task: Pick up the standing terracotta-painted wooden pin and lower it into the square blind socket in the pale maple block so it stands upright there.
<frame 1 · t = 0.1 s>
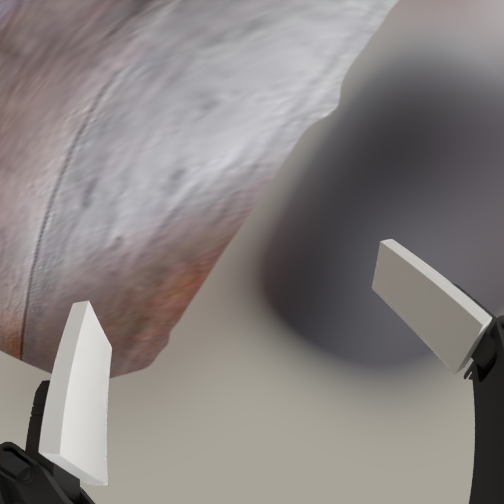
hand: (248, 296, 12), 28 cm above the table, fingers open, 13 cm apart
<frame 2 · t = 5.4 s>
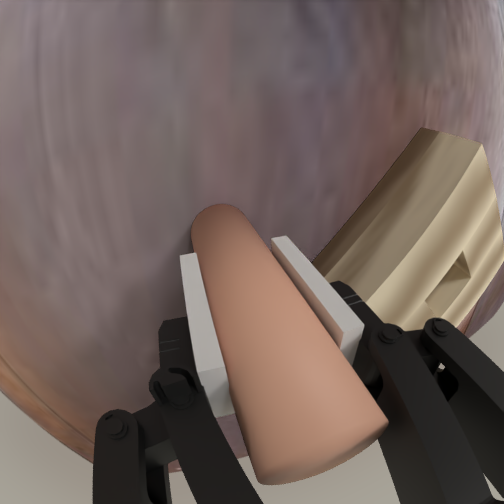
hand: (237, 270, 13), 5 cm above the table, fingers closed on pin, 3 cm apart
pin: (220, 232, 17), on the table, touching gripper
bore block: (405, 253, 23), on the table
when the fingers open (7 cm above the table, at t = 10.5 s): pin stays where it is, resting on bore block.
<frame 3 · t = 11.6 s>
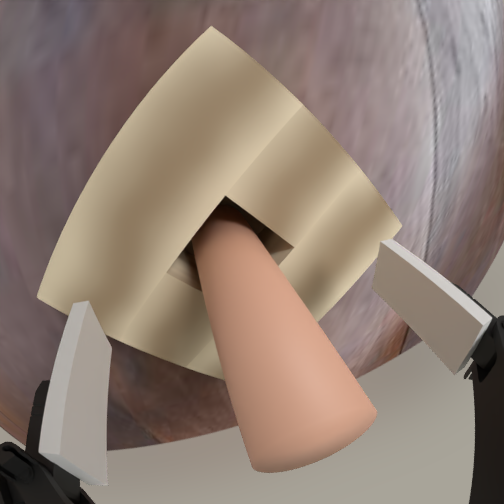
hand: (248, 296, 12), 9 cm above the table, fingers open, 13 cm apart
pin: (218, 231, 18), point 2 cm above the table, touching bore block
bore block: (213, 218, 19), on the table
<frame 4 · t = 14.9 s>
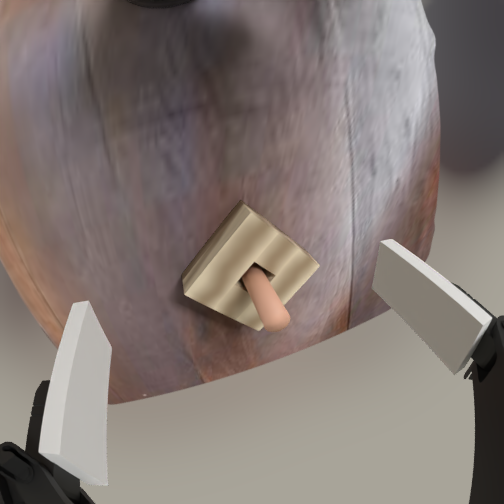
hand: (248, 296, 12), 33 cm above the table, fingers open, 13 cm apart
pin: (248, 268, 48), point 2 cm above the table, touching bore block
bore block: (245, 261, 50), on the table
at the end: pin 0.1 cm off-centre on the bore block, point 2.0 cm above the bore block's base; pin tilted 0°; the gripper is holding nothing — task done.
